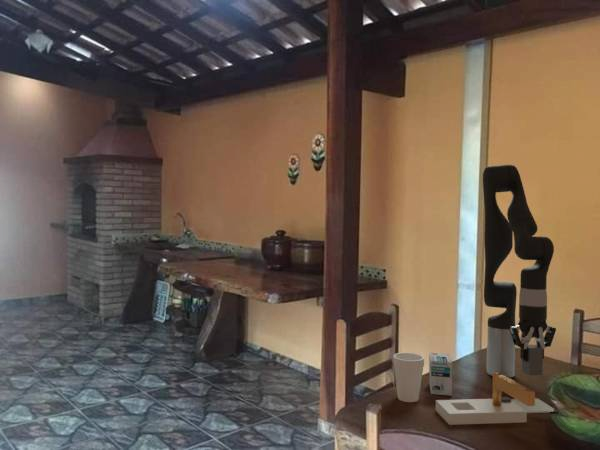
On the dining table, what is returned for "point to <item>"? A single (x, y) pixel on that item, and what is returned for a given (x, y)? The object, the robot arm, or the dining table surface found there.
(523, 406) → the mat
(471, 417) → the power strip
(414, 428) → the dining table surface
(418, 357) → the foam cup
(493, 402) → the orange lever handle
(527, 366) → the plug
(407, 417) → the dining table surface
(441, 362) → the light bulb box
